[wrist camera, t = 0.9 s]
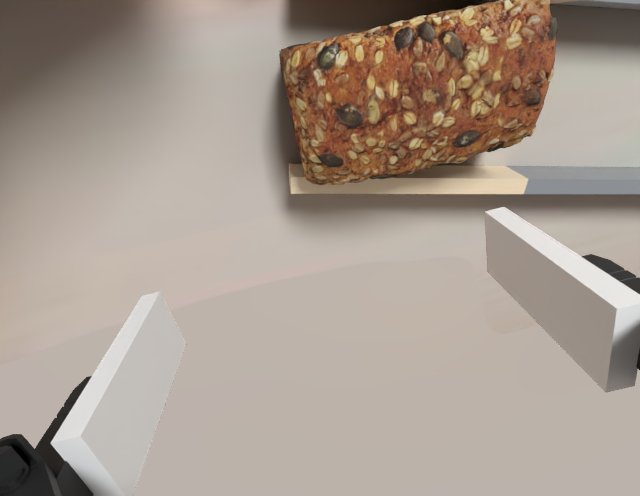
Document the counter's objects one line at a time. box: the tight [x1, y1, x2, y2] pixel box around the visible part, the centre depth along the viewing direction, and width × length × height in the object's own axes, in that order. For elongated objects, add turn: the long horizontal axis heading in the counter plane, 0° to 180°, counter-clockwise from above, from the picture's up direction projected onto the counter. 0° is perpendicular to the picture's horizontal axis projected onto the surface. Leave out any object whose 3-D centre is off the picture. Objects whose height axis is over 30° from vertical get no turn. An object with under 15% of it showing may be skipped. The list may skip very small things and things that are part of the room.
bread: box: [279, 0, 558, 185], centre depth 30 cm, size 19×11×10 cm, turn 100°
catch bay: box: [289, 0, 640, 194], centre depth 34 cm, size 17×46×4 cm, turn 87°
